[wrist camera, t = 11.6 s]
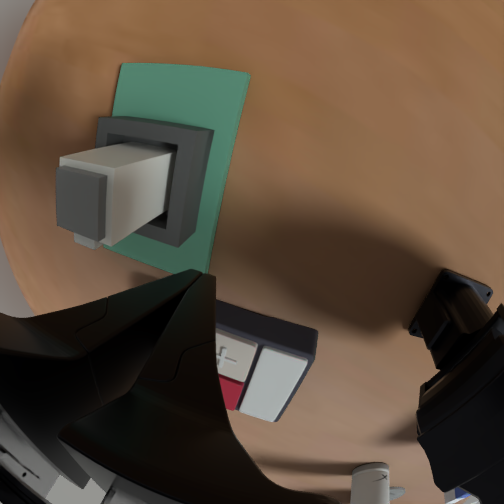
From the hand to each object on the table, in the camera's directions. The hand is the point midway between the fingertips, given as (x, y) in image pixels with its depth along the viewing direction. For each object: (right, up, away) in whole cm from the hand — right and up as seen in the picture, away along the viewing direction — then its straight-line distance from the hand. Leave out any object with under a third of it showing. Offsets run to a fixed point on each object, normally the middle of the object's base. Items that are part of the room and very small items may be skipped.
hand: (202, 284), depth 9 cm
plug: (-5, +6, +10) cm, 13 cm away
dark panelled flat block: (-1, -8, +18) cm, 20 cm away
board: (-5, +7, +11) cm, 14 cm away
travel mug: (+21, -34, +25) cm, 47 cm away
